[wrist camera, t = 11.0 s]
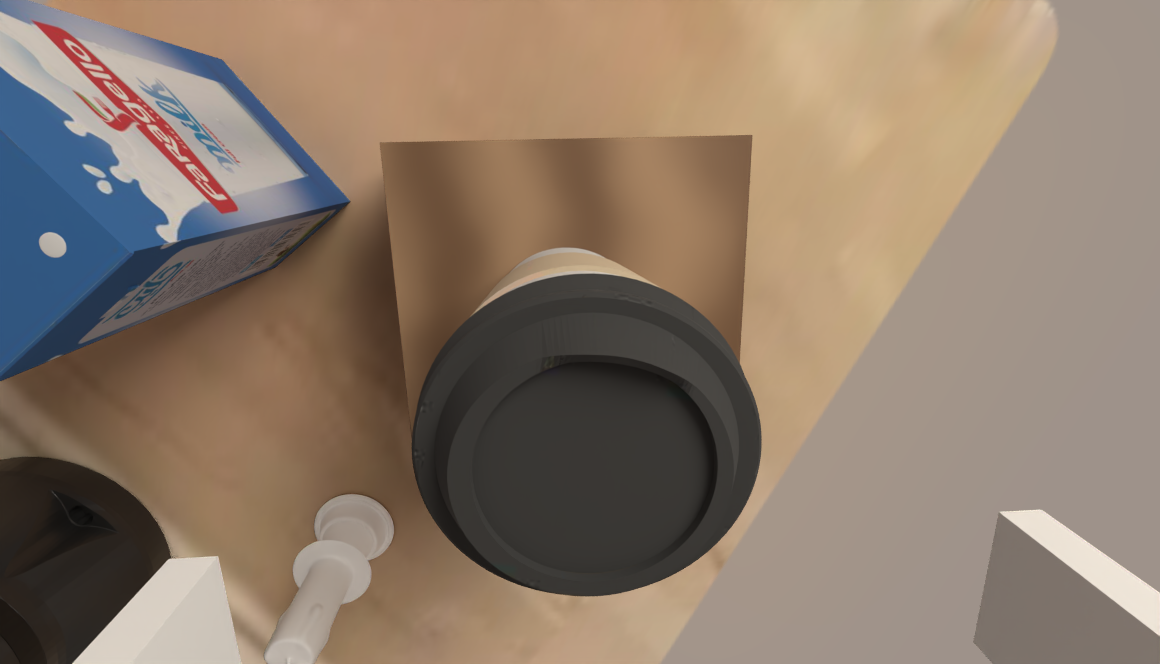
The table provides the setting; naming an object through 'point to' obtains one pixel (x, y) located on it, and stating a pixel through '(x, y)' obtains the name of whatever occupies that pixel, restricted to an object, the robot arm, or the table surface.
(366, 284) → the table surface
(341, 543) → the candle
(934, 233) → the table surface
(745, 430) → the coffee cup
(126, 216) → the milk carton
